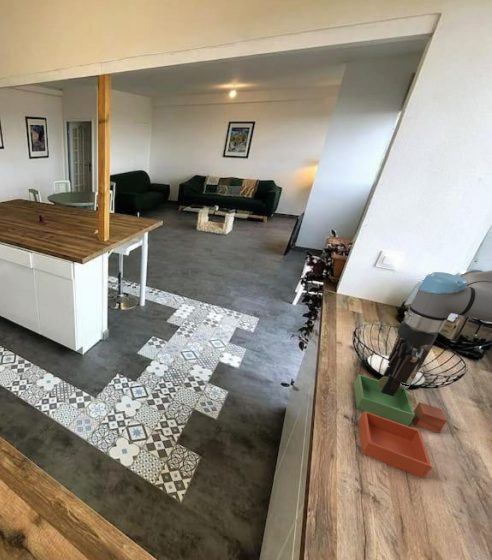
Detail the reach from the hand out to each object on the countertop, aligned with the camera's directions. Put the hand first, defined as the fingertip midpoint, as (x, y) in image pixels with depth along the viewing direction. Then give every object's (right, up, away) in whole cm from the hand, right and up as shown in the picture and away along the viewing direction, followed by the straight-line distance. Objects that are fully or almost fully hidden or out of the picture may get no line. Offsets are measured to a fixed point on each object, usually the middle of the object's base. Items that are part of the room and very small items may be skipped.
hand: (386, 389), depth 96 cm
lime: (0, -1, 0) cm, 1 cm away
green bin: (0, -6, +3) cm, 6 cm away
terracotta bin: (-10, -12, -11) cm, 19 cm away
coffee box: (+16, -1, +13) cm, 21 cm away
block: (+8, -9, -4) cm, 12 cm away
